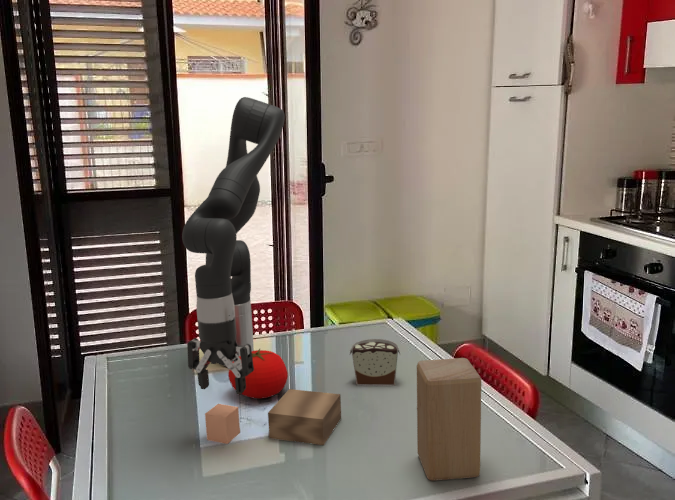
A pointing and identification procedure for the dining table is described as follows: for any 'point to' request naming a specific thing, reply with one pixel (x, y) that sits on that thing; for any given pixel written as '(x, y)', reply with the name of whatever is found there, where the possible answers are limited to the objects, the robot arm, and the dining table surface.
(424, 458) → the wooden block
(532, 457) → the dining table surface
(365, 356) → the food container
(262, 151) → the robot arm
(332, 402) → the walnut block
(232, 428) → the terracotta block
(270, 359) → the tomato
